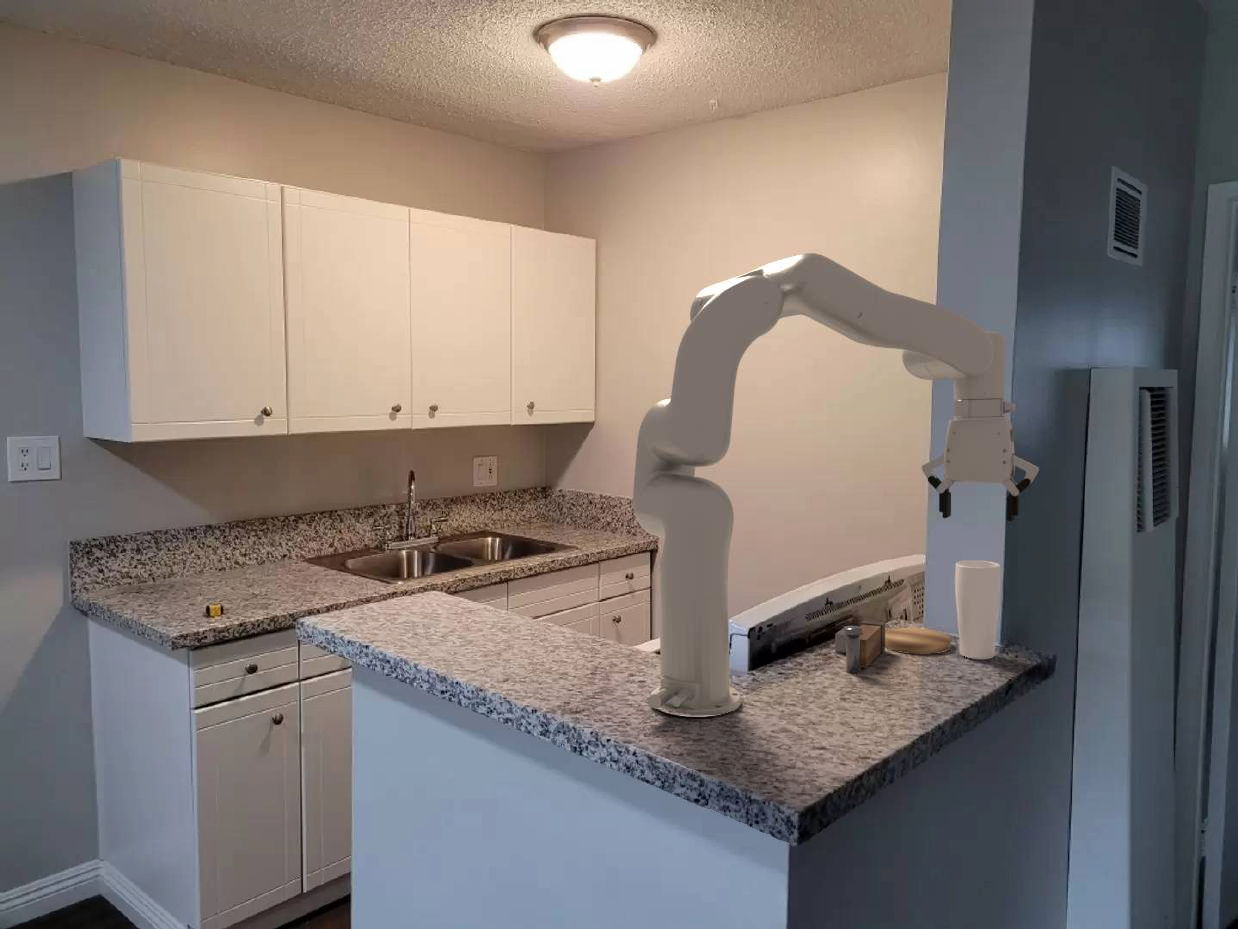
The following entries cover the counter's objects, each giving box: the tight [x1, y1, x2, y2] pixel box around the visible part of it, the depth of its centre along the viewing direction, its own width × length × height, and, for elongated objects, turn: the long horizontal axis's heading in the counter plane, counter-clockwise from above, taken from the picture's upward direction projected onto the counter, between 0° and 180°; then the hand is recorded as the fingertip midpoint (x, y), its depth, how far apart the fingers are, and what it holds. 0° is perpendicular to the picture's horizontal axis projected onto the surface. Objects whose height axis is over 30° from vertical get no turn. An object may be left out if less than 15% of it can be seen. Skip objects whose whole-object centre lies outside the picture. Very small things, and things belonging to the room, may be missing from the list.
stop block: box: [834, 628, 846, 654], centre depth 149 cm, size 4×2×3 cm, turn 149°
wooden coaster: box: [885, 627, 952, 655], centre depth 151 cm, size 11×11×2 cm
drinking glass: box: [954, 559, 1002, 661], centre depth 143 cm, size 7×7×15 cm
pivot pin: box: [843, 625, 863, 674], centre depth 137 cm, size 3×3×7 cm
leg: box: [859, 619, 886, 669], centre depth 143 cm, size 3×11×5 cm, turn 150°
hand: (978, 518), depth 142 cm, fingers open, 9 cm apart
